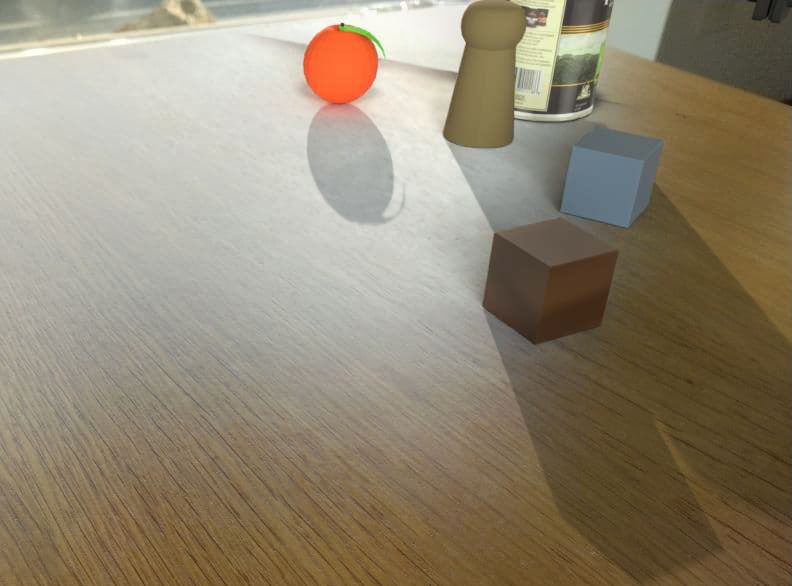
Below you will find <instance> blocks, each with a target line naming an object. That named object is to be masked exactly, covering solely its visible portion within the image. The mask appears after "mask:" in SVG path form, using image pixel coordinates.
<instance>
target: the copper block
mask: <svg viewBox="0 0 792 586" xmlns="http://www.w3.org/2000/svg"><path fill="white" fill-rule="evenodd" d="M491 243H492V244H491V249H490V255H489V261H488V269H487V275H486V280H485V287H484V292H483V293H484V294H483V299H482V308H484V309H485V310H487V311H488V312H489V313H491V314H492V315H494V316H495V317H496V318H497V319H499V320H500V321H502V322H503V323H504V324H506V325H507V326H509V327H510V328H511V329H513V330H514V331H515V332H517V333H518V334H520V336H522V337H524V338H525V339H526V340H528V341H529V342H530V343H532V344H534V345H539V344H541V343H545V342H550V341H552V340H557V339H561V338H562V337H563V338H564V337H566V336H570V335H573V334H577V333H580V332H584V331H588V330H591V329H595V328H597V327H600V326H602V323H603V318H604V314H605V310H606V307H607V303H608V298H609V294H610V289H611V286H612V281H613V277H614V274H615V269H616V265H617V261H618V257H619V253H620V249H619V248H617V247H615V246H613V245H611V244H610V243H608V242H607V241H604V240H602V239H601V238H599V237H598V236H595V235H594V234H591V232H588V231H587V230H585V229H583V228H581V227H579V226H578V225H576V224H574V223H572V222H571V221H569V220H567V219H565V218H563V217H561V216H558V217H554V218H550V219H545V220H541V221H536V222H533V223H532V222H531V223H528V224H524V225H519V226H515V227H511V228H506V229H501V230H497V231H494V232H493V236H492V242H491Z"/></svg>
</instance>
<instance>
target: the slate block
mask: <svg viewBox="0 0 792 586" xmlns="http://www.w3.org/2000/svg"><path fill="white" fill-rule="evenodd" d="M664 143H665V140H664V139H662V138H656V137H652V136H646V135H641V134H636V133H630V132H625V131H621V130H616V129H611V128H607V127H601V126H595V127H594V128H592V129H591V130H590V131H589V132H587V133H586V134H585V135H584V136H583V137H581V138H580V139H579V140H578V141H577V142H576V143H574V144H573V145H572V146H571V147H572V148H571V153H570V157H569V163H568V167H567V172H566V178H565V183H564V188H563V194H562V198H561V203H560V209H559V212H560V213H564V214H568V215H572V216H577V217H579V218H583V219H588V220H591V221H597V222H600V223H604V224H609V225H613V226H617V227H621V228H625V229H628V228H629V227H630V226H631V225H632V224H633V223H634V221H635V220H636V219H637V218H638V217H639V216H640V215H641V214H642V213H643V212H644V210H646V208H647V207H648V206H649V203H650V199H651V196H652V192H653V187H654V183H655V180H656V175H657V172H658V167H659V165H660V164H659V163H660V160H661V155H662V151H663V148H664Z"/></svg>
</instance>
